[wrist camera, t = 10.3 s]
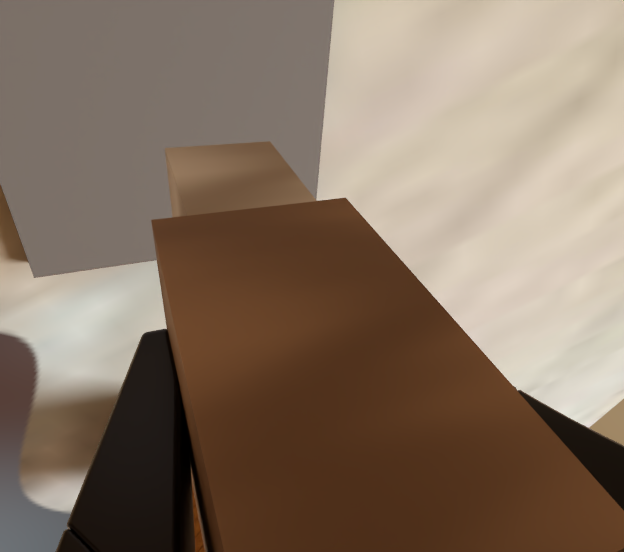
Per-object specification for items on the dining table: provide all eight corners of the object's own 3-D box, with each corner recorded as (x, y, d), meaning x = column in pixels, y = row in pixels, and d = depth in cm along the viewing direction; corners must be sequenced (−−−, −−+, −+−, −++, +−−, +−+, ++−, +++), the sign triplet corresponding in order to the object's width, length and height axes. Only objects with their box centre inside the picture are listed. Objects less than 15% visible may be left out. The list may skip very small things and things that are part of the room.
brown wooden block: (294, 139, 9) (647, 537, 4) (283, 323, 12) (463, 700, 7) (135, 149, 8) (263, 728, 3) (165, 346, 11) (255, 817, 6)
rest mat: (328, -71, 16) (340, -70, 15) (305, 226, 23) (312, 237, 23) (-95, -109, 12) (-106, -110, 11) (36, 263, 19) (34, 277, 19)
